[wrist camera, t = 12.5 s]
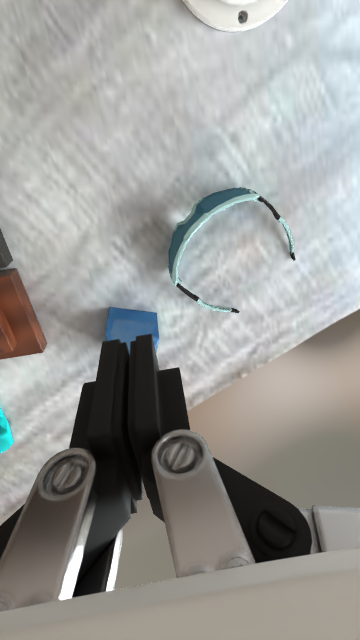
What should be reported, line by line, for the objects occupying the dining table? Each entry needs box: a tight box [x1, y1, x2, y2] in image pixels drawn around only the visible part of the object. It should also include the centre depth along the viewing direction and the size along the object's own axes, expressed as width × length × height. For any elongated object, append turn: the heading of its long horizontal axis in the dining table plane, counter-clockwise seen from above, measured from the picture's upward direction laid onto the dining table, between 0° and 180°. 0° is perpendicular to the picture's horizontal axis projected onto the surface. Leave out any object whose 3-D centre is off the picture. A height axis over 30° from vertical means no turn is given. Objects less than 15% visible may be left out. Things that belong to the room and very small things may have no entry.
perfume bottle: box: [105, 307, 159, 354], centre depth 39 cm, size 6×6×12 cm
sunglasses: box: [168, 187, 295, 313], centre depth 39 cm, size 14×15×5 cm
